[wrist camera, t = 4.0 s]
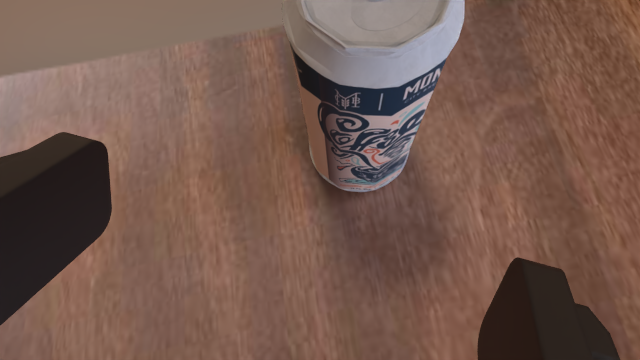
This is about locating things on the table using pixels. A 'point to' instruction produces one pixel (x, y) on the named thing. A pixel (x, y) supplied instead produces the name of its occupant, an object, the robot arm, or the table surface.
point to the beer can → (367, 80)
